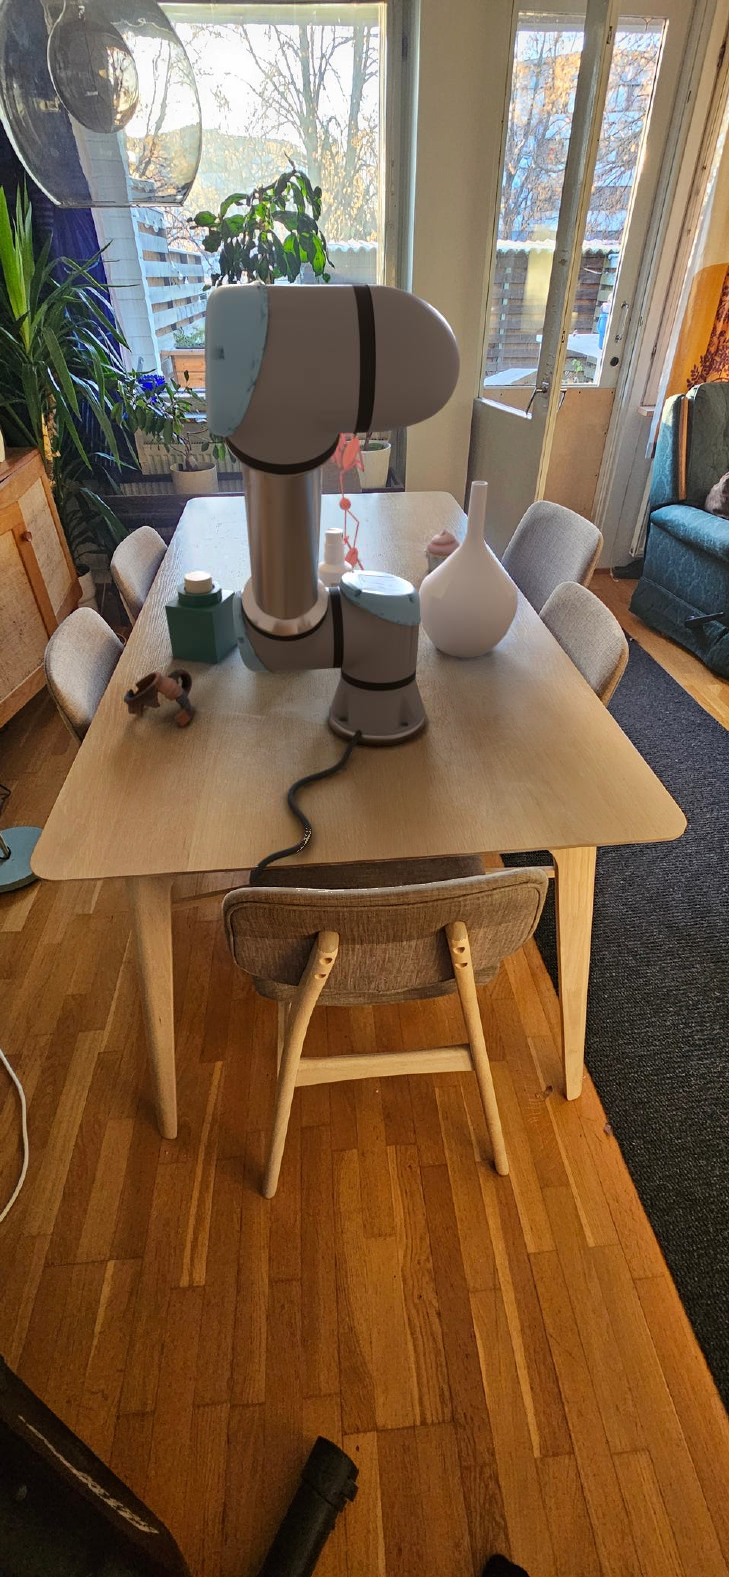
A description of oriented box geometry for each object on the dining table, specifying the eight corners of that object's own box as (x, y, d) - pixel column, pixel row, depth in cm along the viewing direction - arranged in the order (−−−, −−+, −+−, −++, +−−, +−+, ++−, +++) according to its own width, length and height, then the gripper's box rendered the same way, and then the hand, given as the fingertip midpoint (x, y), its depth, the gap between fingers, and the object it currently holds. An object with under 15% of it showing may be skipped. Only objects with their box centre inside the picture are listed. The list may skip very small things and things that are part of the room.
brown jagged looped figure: (177, 739, 111) (141, 699, 107) (142, 746, 117) (107, 708, 113) (217, 689, 118) (185, 650, 113) (182, 697, 124) (151, 660, 120)
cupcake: (416, 567, 173) (419, 524, 167) (452, 563, 175) (456, 522, 169) (430, 580, 166) (433, 537, 160) (467, 577, 168) (472, 534, 162)
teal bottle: (217, 663, 131) (209, 600, 124) (172, 657, 133) (162, 594, 126) (239, 641, 139) (233, 580, 132) (197, 635, 141) (189, 575, 133)
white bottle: (347, 628, 144) (347, 537, 133) (314, 625, 145) (312, 534, 134) (355, 615, 149) (355, 526, 138) (323, 612, 150) (321, 524, 139)
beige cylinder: (205, 596, 126) (204, 582, 125) (181, 593, 128) (179, 579, 126) (217, 586, 130) (215, 572, 129) (193, 583, 131) (191, 569, 130)
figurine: (353, 549, 183) (353, 394, 162) (376, 585, 163) (380, 414, 142) (293, 552, 180) (285, 395, 159) (309, 590, 160) (303, 416, 139)
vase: (521, 667, 131) (548, 497, 114) (421, 669, 130) (433, 498, 112) (499, 626, 146) (520, 469, 128) (409, 627, 145) (418, 470, 127)
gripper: (260, 444, 119) (269, 582, 133) (238, 462, 109) (251, 610, 123) (304, 446, 118) (309, 585, 132) (287, 464, 108) (294, 613, 122)
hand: (281, 596), depth 128 cm, fingers closed
